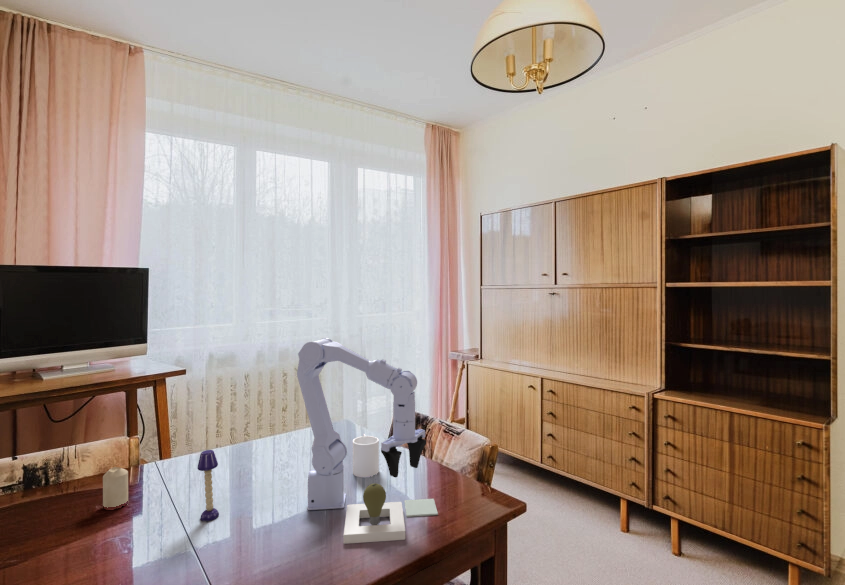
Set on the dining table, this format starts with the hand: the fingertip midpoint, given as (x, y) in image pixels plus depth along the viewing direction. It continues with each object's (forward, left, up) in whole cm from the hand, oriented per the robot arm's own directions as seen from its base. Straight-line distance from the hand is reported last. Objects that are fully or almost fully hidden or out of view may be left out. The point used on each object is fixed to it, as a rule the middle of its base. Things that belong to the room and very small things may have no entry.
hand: (404, 471), depth 113 cm
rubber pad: (+4, +1, -10) cm, 11 cm away
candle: (-77, +12, -10) cm, 78 cm away
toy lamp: (-50, +3, -10) cm, 51 cm away
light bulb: (-8, -6, -10) cm, 14 cm away
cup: (-11, +28, -10) cm, 31 cm away
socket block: (-8, -6, -10) cm, 14 cm away
